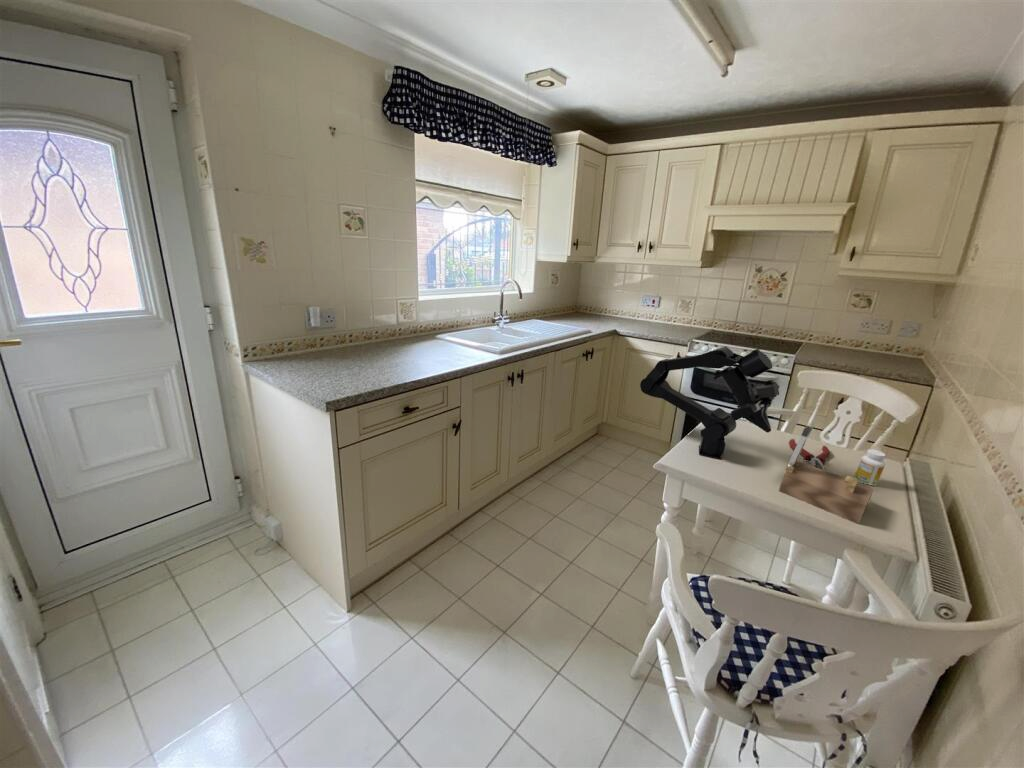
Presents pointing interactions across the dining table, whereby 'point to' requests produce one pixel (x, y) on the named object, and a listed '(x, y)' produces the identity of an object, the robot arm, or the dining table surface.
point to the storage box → (827, 490)
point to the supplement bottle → (870, 467)
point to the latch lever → (799, 446)
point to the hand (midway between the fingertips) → (769, 431)
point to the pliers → (808, 456)
